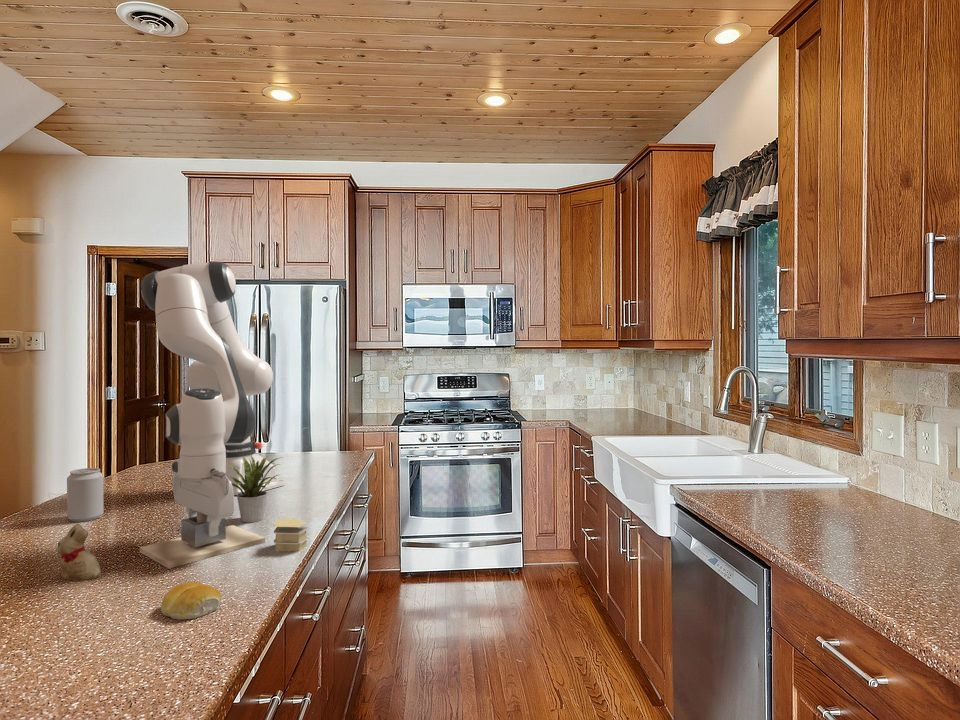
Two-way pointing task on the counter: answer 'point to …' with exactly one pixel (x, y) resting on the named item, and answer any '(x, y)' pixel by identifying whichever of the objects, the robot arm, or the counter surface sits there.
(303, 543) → the stacked food containers
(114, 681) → the counter surface
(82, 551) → the chocolate bunny
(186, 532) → the hollow square tube
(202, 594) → the bread roll
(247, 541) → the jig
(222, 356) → the robot arm
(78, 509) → the can
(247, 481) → the house plant
